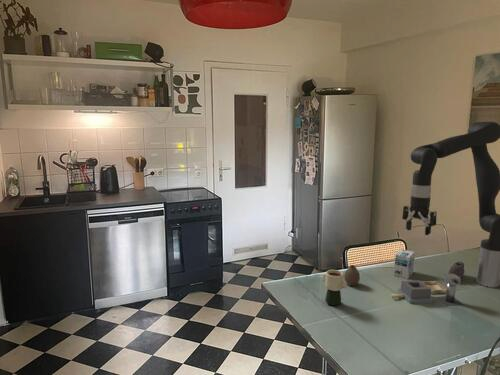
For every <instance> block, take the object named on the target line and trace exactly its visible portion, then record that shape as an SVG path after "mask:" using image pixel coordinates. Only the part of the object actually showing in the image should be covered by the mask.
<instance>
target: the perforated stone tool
mask: <svg viewBox="0 0 500 375" xmlns="http://www.w3.org/2000/svg"><path fill="white" fill-rule="evenodd" d="M448 274H455V275H457V276H459V277H460V278H462V277H463V276H464V274H465V263H464V262H462V261H457V262H455V263H453V264H452V265H451V266H450V268H449V271H448Z"/></svg>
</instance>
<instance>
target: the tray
mask: <svg viewBox="0 0 500 375" xmlns="http://www.w3.org/2000/svg"><path fill="white" fill-rule="evenodd" d="M422 282H423V283H424V284H425V285H427V286H428V287H429V288H431V294H446V288H447V287H445V286H444V285H442V283H440V282H439V281H437V280H434V281H433V280H432V281H431V280H430V281H429V280H427V281H422Z"/></svg>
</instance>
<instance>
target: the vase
mask: <svg viewBox="0 0 500 375" xmlns="http://www.w3.org/2000/svg"><path fill="white" fill-rule="evenodd" d="M360 279H361V275H360V272H359V270H358V269H357V267H356V265H354V264H351V265H349V266H348V268H346V270H345V271H344V280H345V281H346V282H347V285H348V286H349V287H355V286H357V285H358V284H359V283H360Z"/></svg>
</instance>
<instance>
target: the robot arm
mask: <svg viewBox="0 0 500 375" xmlns="http://www.w3.org/2000/svg"><path fill="white" fill-rule="evenodd" d="M467 131H468V132H467V133H464V134H460V135H455V136H450V137H446V138H445V139H442V140H438V141H437V142H434V143H429V144H425V145H420V146H417V147H415V148H414V149H413V150H412V151H411V154H410V160H411V161H412V163H414V164H416V165H420V168H419V169H416V170H415V171H413V174H412V185H411V189H410V205H405V206H403V207H402V208H403V210H402V217H401V219H402V220H405V222H406V224H405V228H406V230H407V231H412V225H413V224H412V223H413V222H412V220H414V219H417V220H421V221H422V223H424V225H425V227H424V228H425V230H424V235H425V236H428V235H430V234H431V233H432V232H431V230H432V227H435V226H437V213H438V212H437V211H436V210H433V211H432V210H430V206H431V198H432V196H431V194H432V176H433V173H434V171H435V167H436V165H437V163H438V159H444V158H447V157H448V156H452V155H454V154H456V153H459V152H462V151H465V150H467V149H471V153H472V158H473V165H474V172H475V180H476V188H477V196H478V222H479V227H480V228H481V229H482V230H483V231H485V232H487V233H489V235H488V236H489V237H488V238H487V239H486V238H484V239H482V240H480V245H479V246H480V248H479V255H478V262H477V271H476V277H475V282H476V283H477V284H479V285H480V284H481V286H483V285H484V287H486V286H488V287H487V288H498V286H499V285H500V214H499V213H497V210H496V204H495V203H496V198H497V196H498V195H499V193H500V168H499V167H498V165H497V163H496V162H495V161H494V159H493V158H492V156H491V154H490V153H489V150H488V145H487V144H494V143H496V142H498V140H499V139H500V123H498V122H495V121H476V122H472V123H471V125H470V126H469V129H468V130H467ZM409 212H410V213H409ZM499 287H500V286H499Z"/></svg>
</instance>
